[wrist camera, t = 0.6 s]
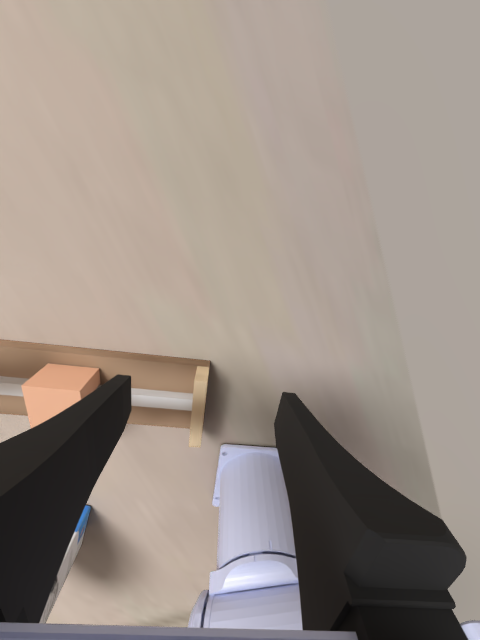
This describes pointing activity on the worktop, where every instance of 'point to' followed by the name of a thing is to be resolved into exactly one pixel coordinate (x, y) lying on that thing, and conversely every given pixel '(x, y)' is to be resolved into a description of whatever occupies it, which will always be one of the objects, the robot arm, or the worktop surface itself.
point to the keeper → (57, 390)
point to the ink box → (67, 562)
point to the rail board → (145, 370)
